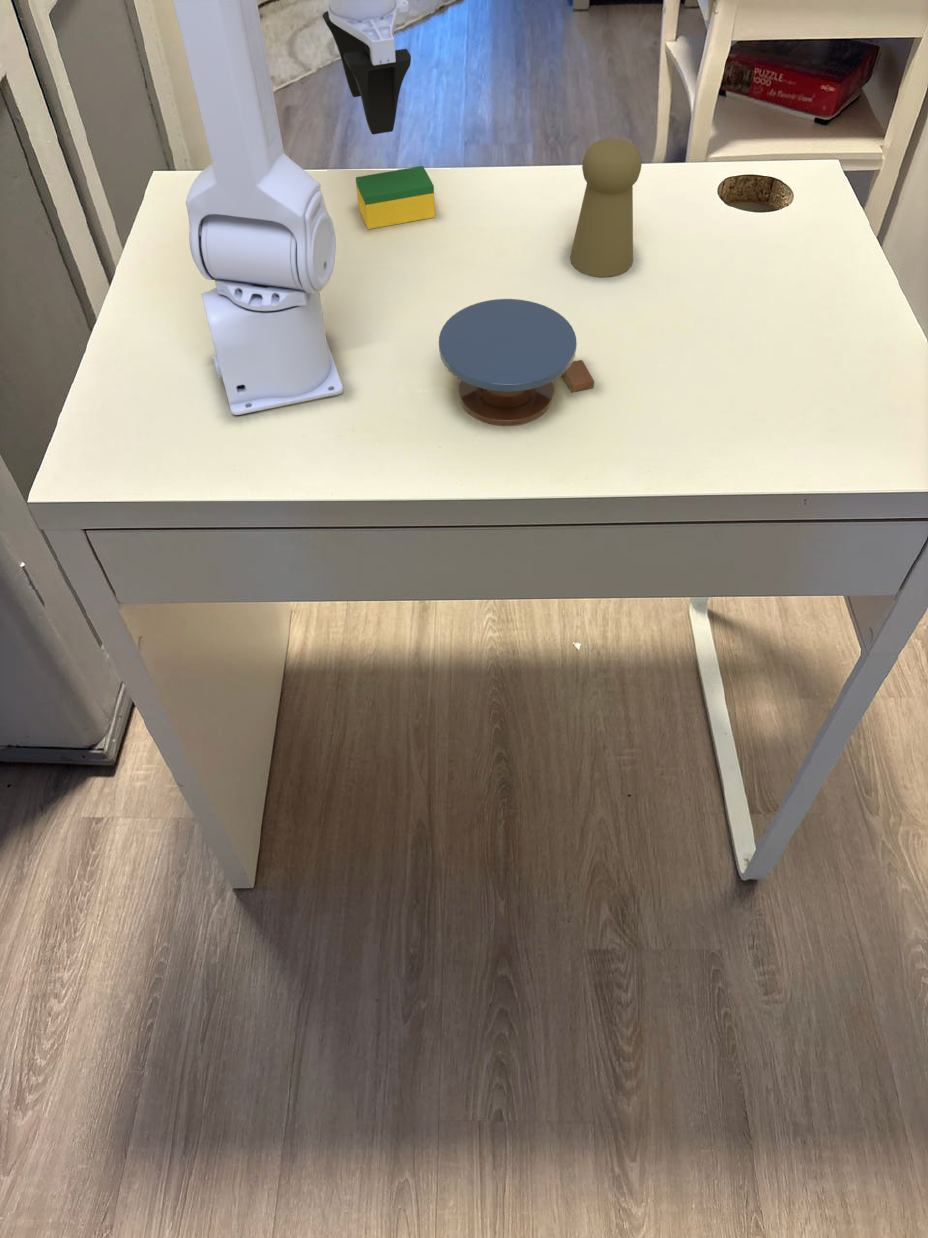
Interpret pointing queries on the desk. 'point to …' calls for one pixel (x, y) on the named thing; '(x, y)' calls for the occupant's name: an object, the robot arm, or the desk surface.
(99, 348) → the desk surface
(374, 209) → the sponge
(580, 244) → the olive chess pawn
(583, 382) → the brown flat block
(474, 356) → the blue-grey round pedestal
